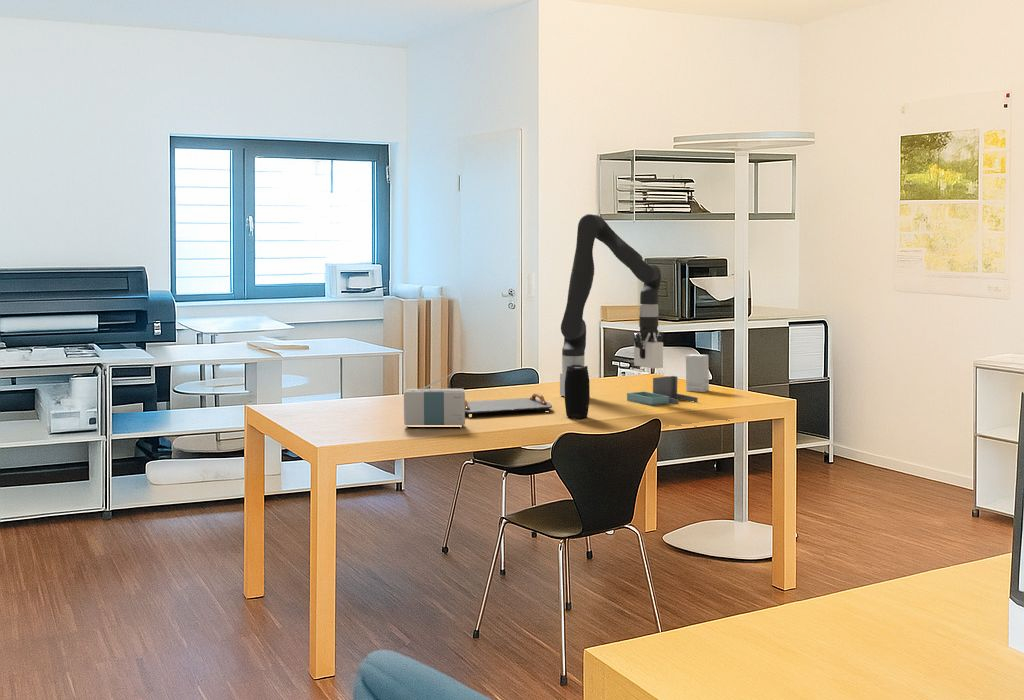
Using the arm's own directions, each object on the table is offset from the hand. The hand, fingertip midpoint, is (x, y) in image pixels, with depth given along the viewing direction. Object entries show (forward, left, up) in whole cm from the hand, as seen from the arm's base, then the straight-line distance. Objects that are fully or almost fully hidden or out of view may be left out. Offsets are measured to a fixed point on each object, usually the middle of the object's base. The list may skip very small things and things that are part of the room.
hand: (648, 357), depth 411 cm
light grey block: (0, 0, -3) cm, 3 cm away
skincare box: (+37, +13, -18) cm, 43 cm away
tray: (0, 0, -18) cm, 18 cm away
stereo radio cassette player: (-97, -4, -18) cm, 99 cm away
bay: (+11, -4, -18) cm, 21 cm away
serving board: (-61, +13, -19) cm, 65 cm away
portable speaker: (-44, -14, -18) cm, 50 cm away
